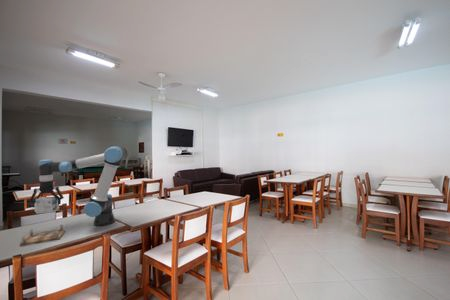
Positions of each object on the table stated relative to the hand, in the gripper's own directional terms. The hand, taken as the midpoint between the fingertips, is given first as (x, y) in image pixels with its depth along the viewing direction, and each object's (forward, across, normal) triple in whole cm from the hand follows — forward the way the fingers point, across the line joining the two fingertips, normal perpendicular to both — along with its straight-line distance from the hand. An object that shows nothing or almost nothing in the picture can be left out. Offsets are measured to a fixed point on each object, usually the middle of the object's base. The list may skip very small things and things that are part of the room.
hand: (47, 210), depth 151 cm
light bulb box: (+2, 0, 0) cm, 2 cm away
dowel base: (+16, -1, +12) cm, 20 cm away
